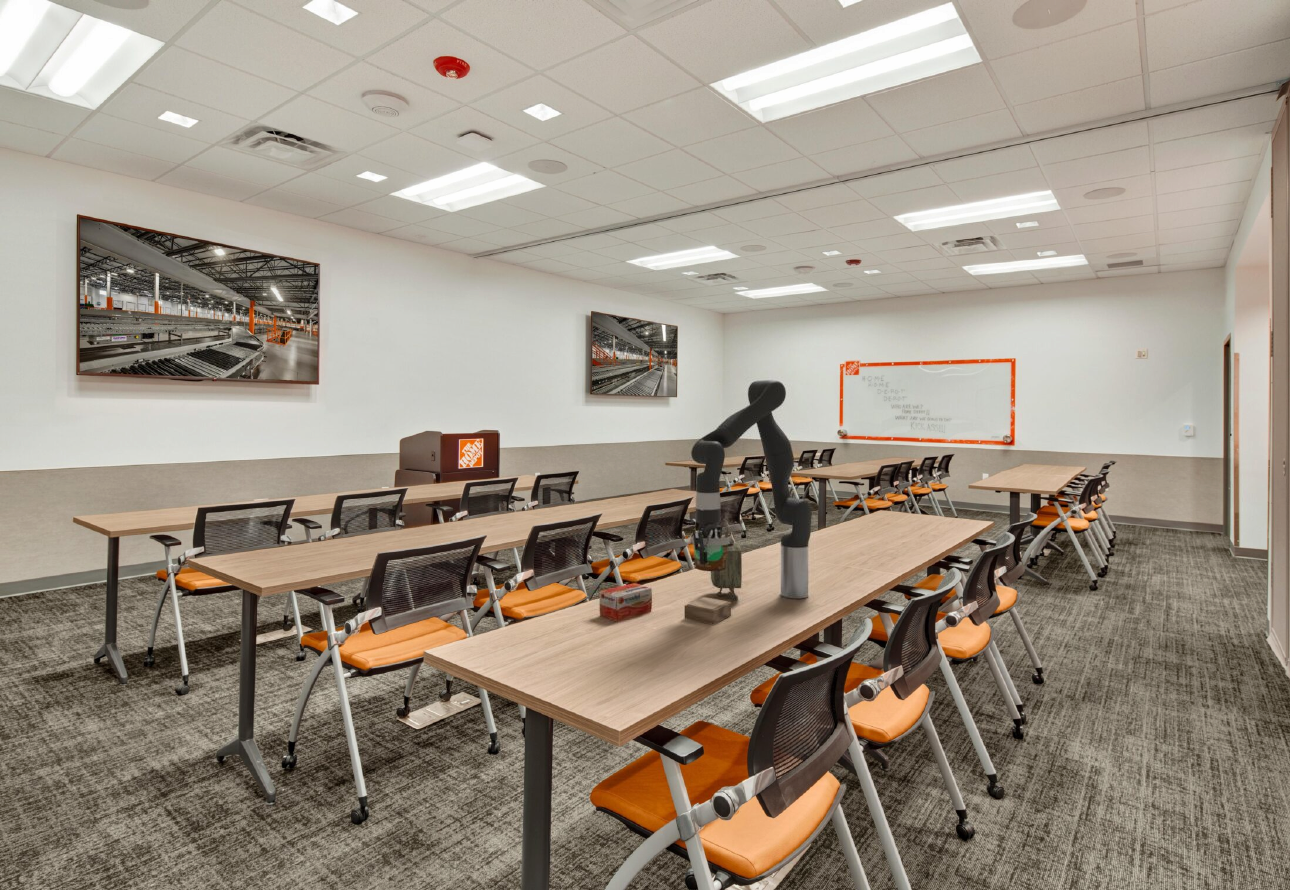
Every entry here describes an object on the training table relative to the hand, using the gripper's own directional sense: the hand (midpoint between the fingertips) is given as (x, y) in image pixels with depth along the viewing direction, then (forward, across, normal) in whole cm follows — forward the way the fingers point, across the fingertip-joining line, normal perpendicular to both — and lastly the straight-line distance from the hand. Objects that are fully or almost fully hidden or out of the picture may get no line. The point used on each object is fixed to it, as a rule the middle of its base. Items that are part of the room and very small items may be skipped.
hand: (708, 561), depth 198 cm
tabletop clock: (+17, -24, -7) cm, 30 cm away
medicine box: (+17, +12, -23) cm, 31 cm away
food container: (+2, +1, 0) cm, 3 cm away
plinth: (+17, 0, 0) cm, 17 cm away
